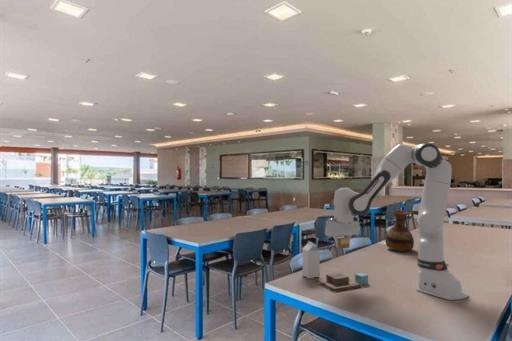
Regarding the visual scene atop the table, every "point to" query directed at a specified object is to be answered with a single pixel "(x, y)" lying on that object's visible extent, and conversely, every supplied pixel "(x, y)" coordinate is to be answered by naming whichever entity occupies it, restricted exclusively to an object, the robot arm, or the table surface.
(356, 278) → the teal cube
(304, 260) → the milk carton
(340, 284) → the walnut base
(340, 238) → the oak cube
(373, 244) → the table surface
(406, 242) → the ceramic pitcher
